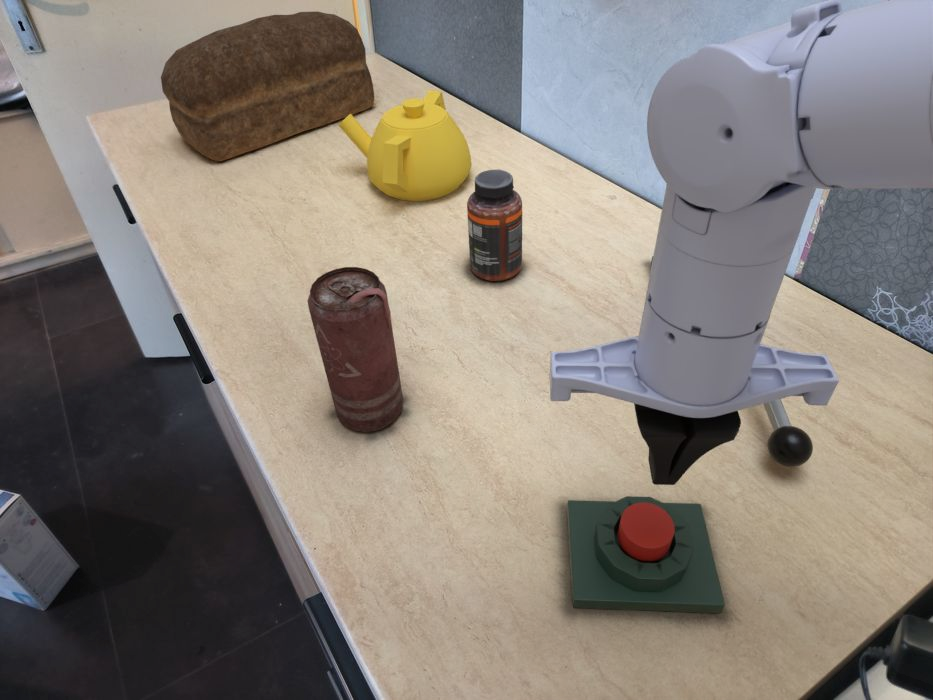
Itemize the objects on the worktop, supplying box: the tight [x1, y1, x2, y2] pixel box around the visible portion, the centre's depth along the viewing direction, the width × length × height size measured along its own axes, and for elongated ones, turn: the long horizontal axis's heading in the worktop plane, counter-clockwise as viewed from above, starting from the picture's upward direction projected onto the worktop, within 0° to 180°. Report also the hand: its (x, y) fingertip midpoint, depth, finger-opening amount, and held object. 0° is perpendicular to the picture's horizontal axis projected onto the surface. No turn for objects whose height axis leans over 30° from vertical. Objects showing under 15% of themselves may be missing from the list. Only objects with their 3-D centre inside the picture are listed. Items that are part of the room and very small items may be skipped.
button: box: [618, 503, 675, 561], centre depth 45 cm, size 4×4×2 cm
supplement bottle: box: [466, 169, 523, 282], centre depth 71 cm, size 6×6×11 cm
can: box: [307, 266, 404, 433], centre depth 55 cm, size 6×6×14 cm
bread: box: [160, 10, 375, 162], centre depth 102 cm, size 15×32×16 cm, turn 130°
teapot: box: [337, 89, 473, 202], centre depth 87 cm, size 20×18×11 cm
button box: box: [566, 495, 726, 614], centre depth 46 cm, size 10×8×3 cm
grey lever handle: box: [762, 399, 814, 468], centre depth 58 cm, size 27×3×3 cm, turn 2°
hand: (661, 471), depth 40 cm, fingers closed
